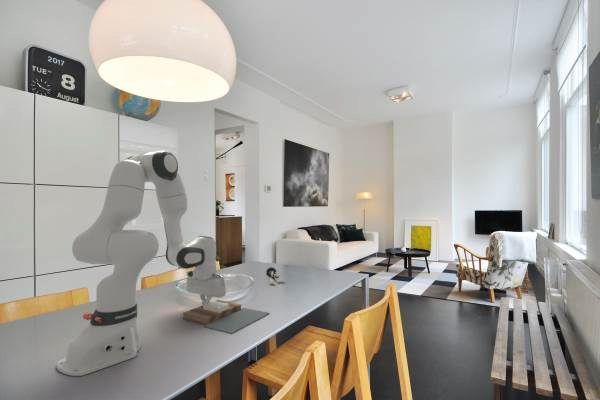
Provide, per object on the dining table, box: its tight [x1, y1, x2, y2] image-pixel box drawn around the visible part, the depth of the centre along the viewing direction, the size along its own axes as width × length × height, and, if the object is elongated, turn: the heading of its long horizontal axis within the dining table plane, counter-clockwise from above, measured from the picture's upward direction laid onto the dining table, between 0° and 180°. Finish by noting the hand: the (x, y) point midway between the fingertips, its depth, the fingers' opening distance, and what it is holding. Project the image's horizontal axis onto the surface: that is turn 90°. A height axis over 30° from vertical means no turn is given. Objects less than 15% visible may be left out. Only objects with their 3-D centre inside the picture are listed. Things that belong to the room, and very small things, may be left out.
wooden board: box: [182, 299, 242, 326], centre depth 136 cm, size 20×14×2 cm
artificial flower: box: [265, 267, 282, 286], centre depth 193 cm, size 9×22×10 cm, turn 4°
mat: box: [203, 307, 270, 335], centre depth 129 cm, size 24×14×1 cm, turn 151°
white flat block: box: [202, 300, 229, 313], centre depth 135 cm, size 6×9×2 cm, turn 62°
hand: (205, 304), depth 138 cm, fingers closed
